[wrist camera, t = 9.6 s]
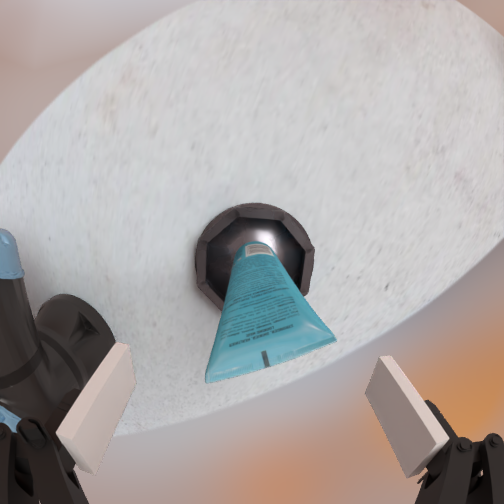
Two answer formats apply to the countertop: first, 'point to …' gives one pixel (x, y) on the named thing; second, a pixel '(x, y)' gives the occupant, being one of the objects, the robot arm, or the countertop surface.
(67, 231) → the countertop surface
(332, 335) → the tube
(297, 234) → the octagonal bowl
